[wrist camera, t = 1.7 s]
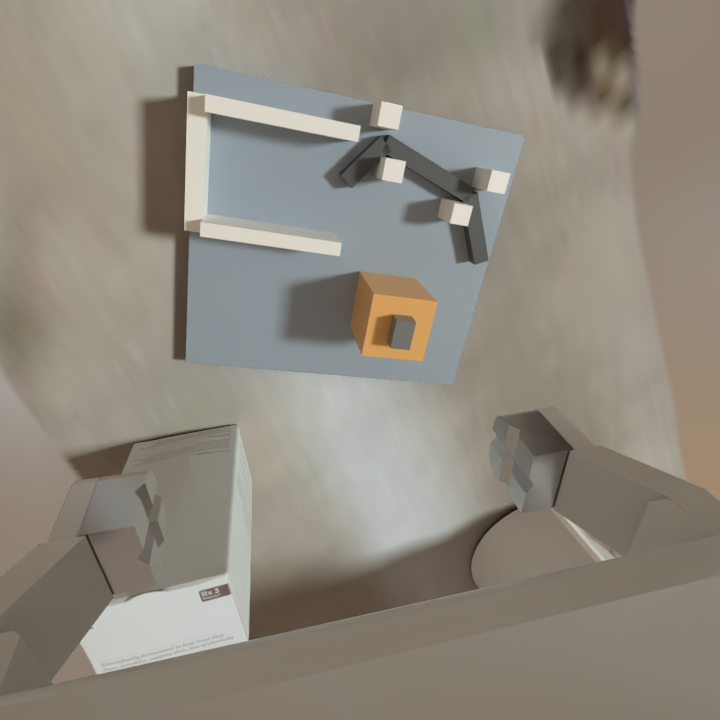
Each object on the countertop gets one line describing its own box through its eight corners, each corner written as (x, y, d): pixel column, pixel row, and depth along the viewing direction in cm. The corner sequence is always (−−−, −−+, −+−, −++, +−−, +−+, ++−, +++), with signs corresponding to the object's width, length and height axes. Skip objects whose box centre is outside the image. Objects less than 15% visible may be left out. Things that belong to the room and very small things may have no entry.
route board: (518, 136, 31) (550, 136, 27) (448, 378, 38) (466, 404, 34) (196, 65, 26) (185, 55, 23) (187, 356, 33) (177, 383, 30)
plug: (415, 278, 33) (443, 307, 27) (403, 331, 34) (427, 368, 29) (359, 270, 32) (377, 299, 26) (349, 325, 33) (364, 362, 28)
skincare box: (155, 497, 38) (93, 690, 25) (131, 437, 36) (48, 617, 22) (258, 478, 39) (250, 654, 26) (243, 418, 36) (226, 581, 23)
